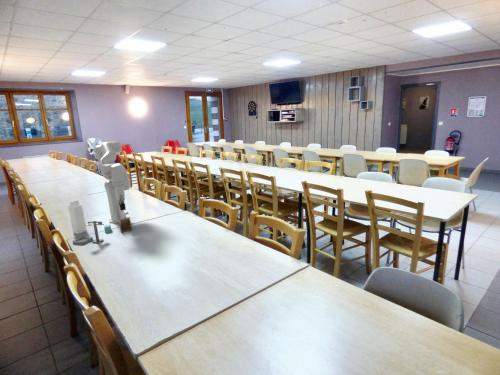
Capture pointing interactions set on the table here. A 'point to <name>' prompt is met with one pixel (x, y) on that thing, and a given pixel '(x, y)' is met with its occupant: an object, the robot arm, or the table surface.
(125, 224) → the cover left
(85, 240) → the dish
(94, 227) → the balance stand
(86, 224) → the balance beam
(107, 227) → the block
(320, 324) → the table surface
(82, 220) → the milk
